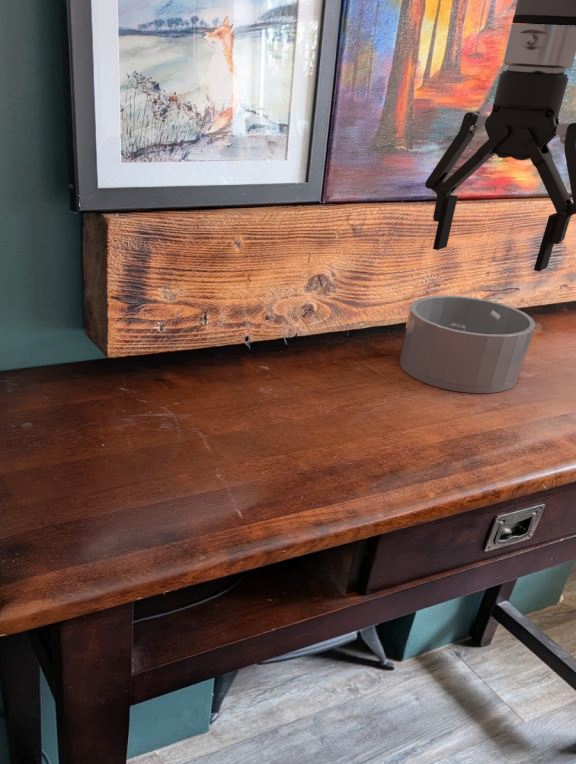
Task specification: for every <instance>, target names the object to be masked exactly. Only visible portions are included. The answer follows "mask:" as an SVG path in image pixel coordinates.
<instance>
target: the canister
mask: <svg viewBox="0 0 576 764" xmlns="http://www.w3.org/2000/svg"><path fill="white" fill-rule="evenodd" d="M492 310H494V311H495V312H496V313H498V314H499V315H500V318H499V319H498V320H497V322H496V323H495V324H494V325H493V326H492V327H491V328H490V329H489V331H488V332H487V333H486V334H480V333H473V332H474V331H475V330H476V329H477V328H478V327H479V325H480V324H481V323H482V322H483V321H484V320H485V319H486V317H487V316H488V315H489V314H490V313H491V312H492ZM453 323H455V324H460V325H465V326H466V327H465V331H460V330H455V329H451V328H447V326H448V325H449V324H453ZM535 327H536V322H535V320H534V319H533V317H531V315H529V314H527V313H526V312H524V311H522V310H520V309H518V308H516V307H512V306H510V305H507V304H504V303H501V302H497V301H493V300H489V299H485V298H479V297H471V296H461V295H433V296H426V297H422V298H419V299H416V300H415V301H413V302H412V303H411V304H410V306H409V310H408V315H407V319H406V323H405V329H404V334H403V338H402V343H401V348H400V352H399V354H400V355H399V359H398V364H399V366H400V367H401V370H403V371H404V373H406V374H407V375H409V376H410V377H412V378H413V379H415V380H417V381H420V382H422V383H424V384H427V385H429V386H432V387H436V388H439V389H443V390H447V391H453V392H458V393H465V394H495V393H502V392H506V391H508V390H511V389H512V388H514V387H515V386H516V385H517V384H518V381H519V378H520V376H521V372H522V369H523V366H524V363H525V359H526V356H527V354H528V350H529V348H530V343H531V340H532V337H533V334H534V330H535Z"/></svg>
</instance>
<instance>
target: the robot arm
mask: <svg viewBox="0 0 576 764" xmlns="http://www.w3.org/2000/svg"><path fill="white" fill-rule="evenodd" d="M514 10H515V11H514V15H513V17H512V20H511V21H512V22H511V25H510V30H509V34H508V38H507V42H506V47H505V50H504V55H503V60H502V63H503V64H504V66H505V65H506V66H507V67H506V70H502V72H501V73H499V76H498V81H497V85H496V90H495V93H494V97H493V103H492V109H491V110H490V111H491V112H490V113H489V115H484V114H481V112H480V111H478V110H477V111H468V112H466V113H465V114H464V116H463V119H462V121H461V124H460V128H459V131H458V132H457V134H456V135H455V137H454V139H453V140H452V141H451V143H450V145H449V146H448V148H447V149H446V150H445V152H444V154H443V155H442V156H441V158H440V159H439V161H438V162H437V164H436V165H435V167H434V169H433V170H432V171H431V173H430V174H429V176H428V177H427V179H426V180H425V183H424V185H425V188H426V189H428V190H432V191H433V192H434V193H435V194H436V200H435V205H434V210H433V215H432V220H433V222H436V223H437V227H436V232H435V236H434V241H433V246H432V250H436V251H439V250H442V249H445V248H447V247H448V242H449V238H450V235H451V234H450V233H451V228H452V224H453V219H454V216H455V211H456V205H457V201H458V195H452V194H454V193H455V191H456V190H457V189H458V188H459V187H460V186H461V185H462V184H463V183H464V182H466V180H468V179H469V178H470V177H471V176H472V175H473V174H474V173H476V172H477V170H479V169H480V168H481V167H482V166H483V165H485V163H487V161H488V160H490V159H491V158H492V157H494V156H495V155H496V156H497V158H502V159H505V158H512V159H514V160H516V161H526V160H530V162H531V164H532V165H533V166H534V167H535V168H536V171H537V173H538V175H539V177H540V179H541V181H542V184H543V186H544V189H545V190H546V192H547V195H548V196H549V199H550V201H551V203H552V205H553V208H554V210H555V212H554V213H552V214H549V215H548V218H547V222H546V225H545V228H544V231H543V232H544V233H543V235H542V239H541V242H540V247H539V250H538V254H537V257H536V260H535V263H534V266H533V267H534V268H533V271H535V272H542V271H543V270H545V269H547V268H548V265H549V262H550V259H551V255H552V253H553V249H554V245H559V244H561V243H562V242H563V241H564V239H565V238H566V233H567V232H568V227H569V224H570V221H571V218H572V217H573V216H574V215H576V122H572V123H560V121H559V115H560V111H561V108H562V106H563V105H562V104H563V100H564V96H565V94H566V93H565V92H566V89H567V85H568V82H569V79H570V77H568V73H567V74H566V69H570V68H571V67H572V66H573V65H574V60H575V57H576V0H517V1H516V6H515V9H514ZM483 128H484V129H485V132H486V135H487V137H488V139H487V140H486V141H485V142H484V143H483V144H482V145H481V146H479V148H478V149H477V150H476V152H475V153H474V154H473V155H472V156H470V158H468V159H467V160H466V161H465V162H464V163H463V164H462V165H461V166H460V167H458V169H456V171H454V172H453V173H452V174H451V175H450V176H449V177H448V175H449V174H450V172H451V171H452V169H453V168H454V166H455V165H456V164H457V162H459V159H460V158H461V156H462V155H463V154H464V152H465V151H466V149H467V147H468V146H469V144H470V143H471V141H472V140H473V139H474V137H475V135H476V134H479V133H480V132H481V130H482V129H483ZM556 136H559V141H560V143H561V144H562V145H564V146H563V148H564V157H565V162H566V169H567V175H568V181H569V187H570V193H571V196H570V194H569V192H568V190H567V188H566V185H565V183H564V181H563V179H562V177H561V174H560V172H559V170H558V168H557V166H556V164H555V161H554V159H553V154H552V151H551V149H550V147H549V145H548V144H549V143H550V142H551V141H552V140H553V139H555V137H556ZM447 177H448V178H447ZM446 178H447V179H446ZM445 179H446V180H445Z"/></svg>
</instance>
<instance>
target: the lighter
mask: <svg viewBox="0 0 576 764" xmlns="http://www.w3.org/2000/svg"><path fill="white" fill-rule="evenodd" d="M499 318H500V315H499V314H498V313H496V312H495V311H494V310H492V312H491V313H490V314H489V315H488V316H487V317H486V319H485V320H484V321H483V322H482V323H481V324H480V325H479V327H478V328H477V329H476V330H475V331H474V332H473V333H480V334H486V333H487V332H488V331H489V329H490V328H491V327H492V326H493V325H494V324H495V323H496V322H497V320H498V319H499ZM465 327H466V326H465V325H460V324H455V323H453V324H449V325H448V326H447V328H451V329H455V330H460V331H465Z"/></svg>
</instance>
